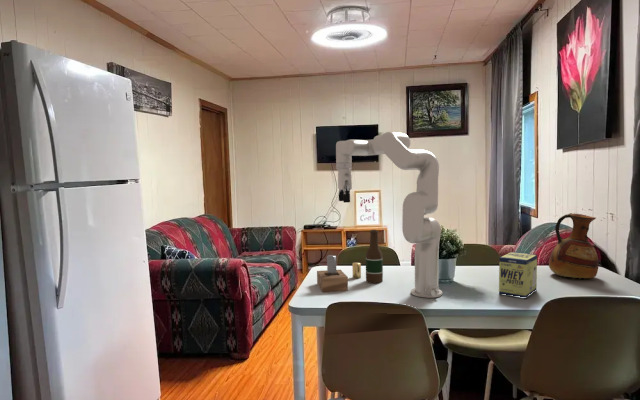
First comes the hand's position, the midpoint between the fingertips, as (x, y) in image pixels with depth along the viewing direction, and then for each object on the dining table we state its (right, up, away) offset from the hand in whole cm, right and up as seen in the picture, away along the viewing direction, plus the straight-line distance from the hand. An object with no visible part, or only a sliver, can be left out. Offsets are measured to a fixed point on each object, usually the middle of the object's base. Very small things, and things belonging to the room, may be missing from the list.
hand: (344, 201), depth 209 cm
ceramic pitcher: (+107, -36, -8) cm, 113 cm away
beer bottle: (+13, -37, -11) cm, 41 cm away
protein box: (+70, -38, -33) cm, 86 cm away
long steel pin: (-7, -38, -20) cm, 43 cm away
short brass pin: (+6, -37, -3) cm, 37 cm away
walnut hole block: (-7, -38, -20) cm, 43 cm away
